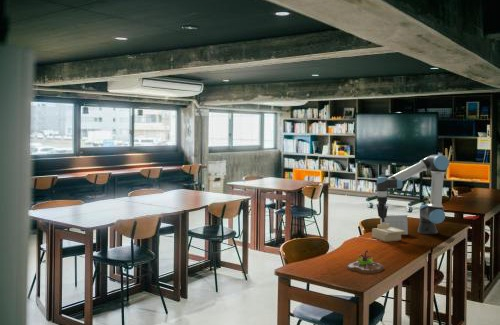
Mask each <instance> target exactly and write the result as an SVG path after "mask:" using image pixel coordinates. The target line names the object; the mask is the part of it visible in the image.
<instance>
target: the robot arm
mask: <svg viewBox="0 0 500 325" xmlns="http://www.w3.org/2000/svg"><path fill="white" fill-rule="evenodd" d="M449 166H450V160H449V158H448V157H447V156H446V155H443V154H431V155H428V156H427V157H425V158H422V159H421V160H419V162H417V163H415V164H413V165H411V166H410V167H407V168H405V169H403V170H401V171H399V172H397V173H395V174H393V175H391V176H388V177H386V176H378V177H377V179H376V192H377V194H376V195H377V197H376V201H377V202H378V203H376V207H377V214H378V215H377V216H378V217H379V218H380V219H379V222H380V224H384V222H385V218H386V216H387V215H388V214H387V213H388V208H389V206H388V205H387V202H388V190H389V189H391V190H394V189H397V190H398V189H402V188H403V181H406V180H407V179H409V178H412V177H413V176H415V175H417V174H419V173H422V172H426V171H430V173H431V181H430V182H431V184H430V194H429V195H430V197H429V203H428V204H421V205H420V206H419V225H418V228H417V233H418V234H422V235H436V234H438V229H437V226H436V225H437V224H441V223H443V221H445V218H446V213H445V211H444V206H443V204H442V203H443V202H442V200H443V192H444V191H443V188H444V176H445V174H446V173H447V169H448V168H449Z"/></svg>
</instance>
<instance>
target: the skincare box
mask: <svg viewBox="0 0 500 325" xmlns="http://www.w3.org/2000/svg"><path fill="white" fill-rule="evenodd" d="M384 224H389V227H394V228H398V229H401V230H405V234H403V233H401V236H402V235H409V233H408V232H409V230H408V225H409V224H408V214H387V216H386V218H385V222H384Z"/></svg>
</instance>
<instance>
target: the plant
mask: <svg viewBox="0 0 500 325" xmlns="http://www.w3.org/2000/svg"><path fill="white" fill-rule="evenodd" d="M369 252H370V251H369V250H368V249H366V250H365V251H364V254H359V255H358V256H357V259H356V260H357V261H354V262H351V263H348V265H347V266H346V268H347V270H348V271H351V272H357V273H360V274H370V275H372V274H376V273H380V272H383V270H384V269H385V266H384V265H383V264H381V263H380V262H375V261H373V258H374V257H373V256H372V255H367V253H369Z"/></svg>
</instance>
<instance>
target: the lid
mask: <svg viewBox="0 0 500 325" xmlns="http://www.w3.org/2000/svg"><path fill="white" fill-rule="evenodd" d="M376 225H377V228H375V227H374V228H373V229H374V231H375V232H378V233H381V234H384V235H388V234H389V233H399V232H401V233H403V234H405V230H401V229H398V228H394V227H389V224H376Z"/></svg>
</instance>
